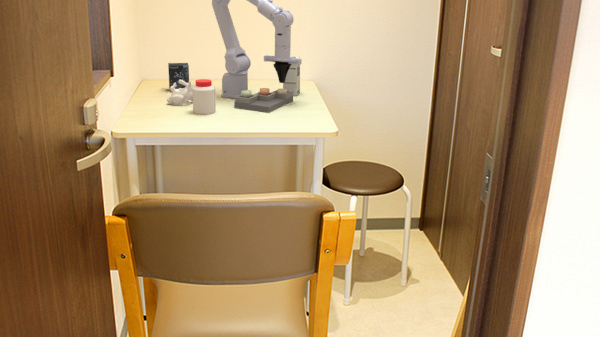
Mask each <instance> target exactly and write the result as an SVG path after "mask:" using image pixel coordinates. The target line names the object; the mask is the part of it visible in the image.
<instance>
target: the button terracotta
mask: <svg viewBox="0 0 600 337" xmlns="http://www.w3.org/2000/svg"><path fill="white" fill-rule="evenodd" d="M259 92H260V95H265V96H266V95H269V92H270V88H268V87H261V88H259Z"/></svg>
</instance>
